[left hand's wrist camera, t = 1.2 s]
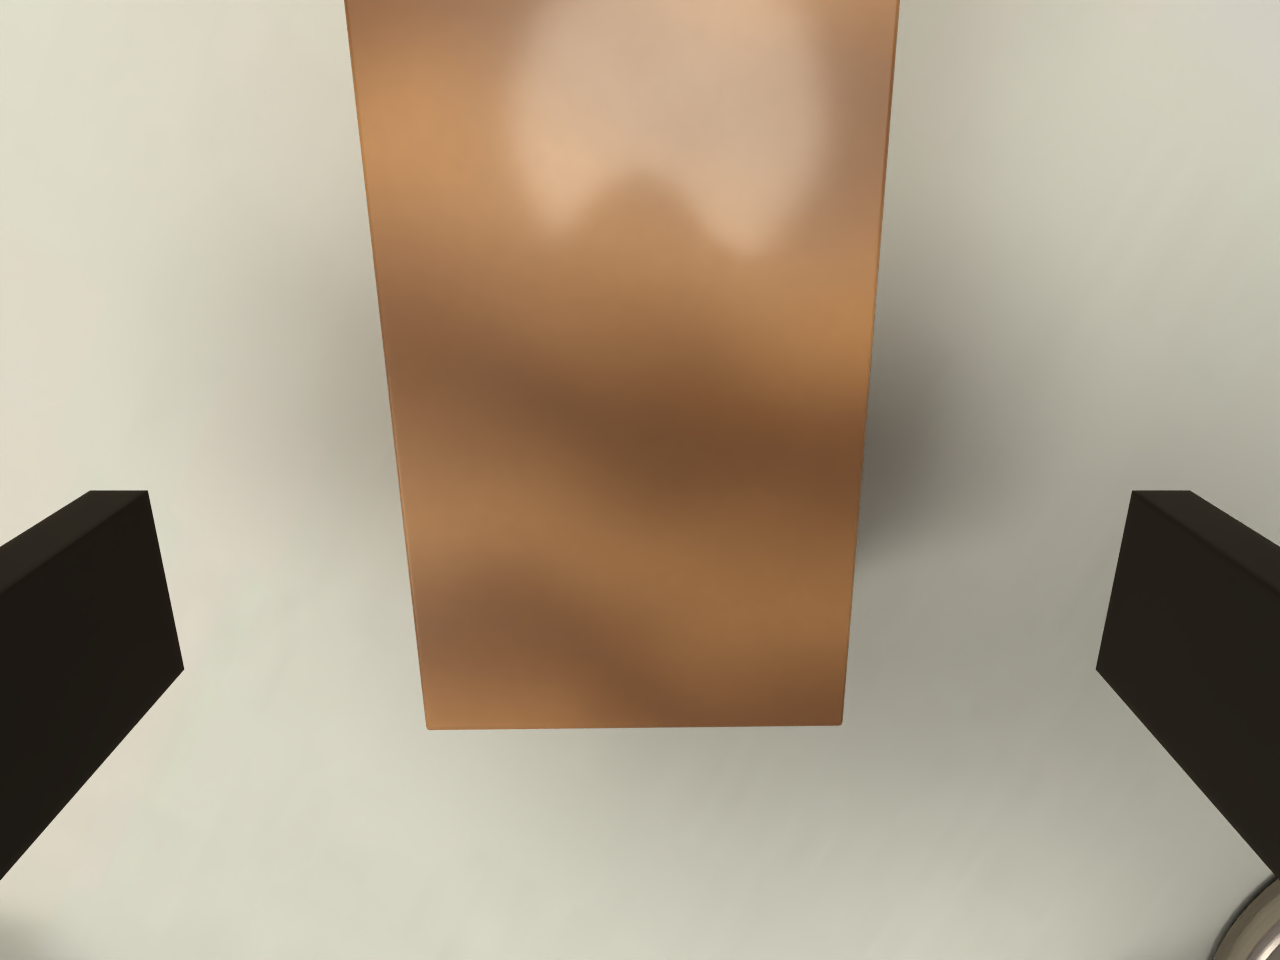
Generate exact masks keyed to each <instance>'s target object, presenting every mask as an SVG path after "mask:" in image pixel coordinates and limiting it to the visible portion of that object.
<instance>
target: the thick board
mask: <svg viewBox="0 0 1280 960" xmlns="http://www.w3.org/2000/svg"><path fill="white" fill-rule="evenodd" d="M344 3H345V12H346V21H347V30H348V39H349V48H350V57H351V65H352V74H353V83H354V92H355V101H356V110H357V118H358V127H359V136H360V145H361V154H362V163H363V171H364V180H365V189H366V198H367V207H368V216H369V224H370V233H371V242H372V251H373V260H374V269H375V278H376V286H377V295H378V304H379V313H380V322H381V331H382V339H383V348H384V357H385V366H386V375H387V384H388V392H389V401H390V410H391V419H392V428H393V437H394V445H395V454H396V463H397V472H398V481H399V490H400V499H401V507H402V516H403V525H404V534H405V543H406V552H407V560H408V569H409V578H410V587H411V596H412V605H413V613H414V622H415V631H416V640H417V649H418V658H419V666H420V675H421V684H422V693H423V702H424V711H425V720H426V727H427V729H428V730H466V729H560V728H655V727H749V726H839V725H841V724H842V721H843V708H844V695H845V683H846V670H847V658H848V645H849V633H850V620H851V607H852V595H853V582H854V570H855V557H856V545H857V532H858V519H859V507H860V494H861V482H862V469H863V457H864V444H865V431H866V419H867V406H868V394H869V381H870V369H871V356H872V343H873V331H874V318H875V306H876V293H877V281H878V268H879V255H880V243H881V230H882V218H883V205H884V193H885V180H886V167H887V155H888V142H889V130H890V117H891V105H892V92H893V79H894V67H895V54H896V42H897V29H898V17H899V4H900V0H344Z"/></svg>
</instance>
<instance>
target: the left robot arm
mask: <svg viewBox="0 0 1280 960" xmlns="http://www.w3.org/2000/svg"><path fill="white" fill-rule="evenodd" d="M183 670H184V666H183V661H182V656H181V651H180V646H179V641H178V636H177V631H176V627H175V622H174V617H173V612H172V607H171V602H170V597H169V592H168V587H167V582H166V578H165V573H164V568H163V563H162V558H161V553H160V548H159V543H158V538H157V534H156V529H155V524H154V519H153V514H152V509H151V504H150V499H149V494H148V491H89V492H87V493H86V494H84V495H82V496H81V497H79V498H78V499H76V500H74V501H73V502H71V503H70V504H68V505H66V506H65V507H63V508H62V509H60V510H58V511H57V512H55V513H54V514H52V515H50V516H49V517H47V518H46V519H44V520H42V521H41V522H39V523H38V524H36V525H34V526H33V527H31V528H30V529H28V530H26V531H25V532H23V533H22V534H20V535H18V536H17V537H15V538H14V539H12V540H10V541H9V542H7V543H6V544H4V545H2V546H1V547H0V880H1V879H2V878H3V877H4V875H5V874H6V873H7V872H8V871H9V870H10V869H11V867H12V866H13V865H14V864H15V863H16V862H17V861H18V859H19V858H20V857H21V856H22V855H23V854H24V853H25V851H26V850H27V849H28V848H29V847H30V846H31V844H32V843H33V842H34V841H35V840H36V839H37V838H38V836H39V835H40V834H41V833H42V832H43V831H44V830H45V828H46V827H47V826H48V825H49V824H50V823H51V822H52V820H53V819H54V818H55V817H56V816H57V815H58V814H59V812H60V811H61V810H62V809H63V808H64V807H65V805H66V804H67V803H68V802H69V801H70V800H71V799H72V797H73V796H74V795H75V794H76V793H77V792H78V791H79V789H80V788H81V787H82V786H83V785H84V784H85V783H86V781H87V780H88V779H89V778H90V777H91V776H92V775H93V773H94V772H95V771H96V770H97V769H98V768H99V766H100V765H101V764H102V763H103V762H104V761H105V760H106V758H107V757H108V756H109V755H110V754H111V753H112V752H113V750H114V749H115V748H116V747H117V746H118V745H119V744H120V742H121V741H122V740H123V739H124V738H125V737H126V736H127V734H128V733H129V732H130V731H131V730H132V729H133V727H134V726H135V725H136V724H137V723H138V722H139V721H140V719H141V718H142V717H143V716H144V715H145V714H146V713H147V711H148V710H149V709H150V708H151V707H152V706H153V705H154V703H155V702H156V701H157V700H158V699H159V698H160V697H161V695H162V694H163V693H164V692H165V691H166V690H167V688H168V687H169V686H170V685H171V684H172V683H173V682H174V680H175V679H176V678H177V677H178V676H179V675H180V674H181V672H182V671H183ZM1096 670H1097V671H1098V672H1099V674H1100V675H1101V676H1102V677H1103V678H1104V679H1105V680H1106V682H1107V683H1108V684H1109V685H1110V686H1111V687H1112V688H1113V690H1114V691H1115V692H1116V693H1117V694H1118V695H1119V697H1120V698H1121V699H1122V700H1123V701H1124V702H1125V703H1126V705H1127V706H1128V707H1129V708H1130V709H1131V710H1132V711H1133V713H1134V714H1135V715H1136V716H1137V717H1138V718H1139V719H1140V721H1141V722H1142V723H1143V724H1144V725H1145V726H1146V727H1147V729H1148V730H1149V731H1150V732H1151V733H1152V734H1153V736H1154V737H1155V738H1156V739H1157V740H1158V741H1159V742H1160V744H1161V745H1162V746H1163V747H1164V748H1165V749H1166V750H1167V752H1168V753H1169V754H1170V755H1171V756H1172V757H1173V758H1174V760H1175V761H1176V762H1177V763H1178V764H1179V765H1180V766H1181V768H1182V769H1183V770H1184V771H1185V772H1186V773H1187V775H1188V776H1189V777H1190V778H1191V779H1192V780H1193V781H1194V783H1195V784H1196V785H1197V786H1198V787H1199V788H1200V789H1201V791H1202V792H1203V793H1204V794H1205V795H1206V796H1207V797H1208V799H1209V800H1210V801H1211V802H1212V803H1213V804H1214V805H1215V807H1216V808H1217V809H1218V810H1219V811H1220V812H1221V814H1222V815H1223V816H1224V817H1225V818H1226V819H1227V820H1228V822H1229V823H1230V824H1231V825H1232V826H1233V827H1234V828H1235V830H1236V831H1237V832H1238V833H1239V834H1240V835H1241V836H1242V838H1243V839H1244V840H1245V841H1246V842H1247V843H1248V844H1249V846H1250V847H1251V848H1252V849H1253V850H1254V851H1255V853H1256V854H1257V855H1258V856H1259V857H1260V858H1261V859H1262V861H1263V862H1264V863H1265V864H1266V865H1267V866H1268V867H1269V869H1270V870H1271V871H1272V872H1273V873H1274V874H1275V875H1276V877H1277V878H1278V879H1277V880H1276V881H1275V882H1273V883H1272V884H1271V885H1270V886H1268V887H1267V888H1266V889H1265V890H1264V891H1263V892H1262V893H1261V894H1260V895H1259V896H1258V897H1257V898H1256V899H1254V900H1253V901H1252V902H1251V903H1250V905H1249V906H1248V907H1247V908H1246V909H1245V910H1244V911H1243V913H1242V914H1241V915H1240V916H1239V917H1238V918H1237V920H1236V921H1235V922H1234V924H1233V925H1232V927H1231V928H1230V929H1229V931H1228V932H1227V934H1226V935H1225V937H1224V939H1223V940H1222V942H1221V944H1220V946H1219V947H1218V950H1217V952H1216V954H1215V956H1214V958H1213V960H1280V547H1279V546H1278V545H1276V544H1274V543H1273V542H1271V541H1270V540H1268V539H1266V538H1265V537H1263V536H1262V535H1260V534H1258V533H1257V532H1255V531H1254V530H1252V529H1250V528H1249V527H1247V526H1246V525H1244V524H1242V523H1241V522H1239V521H1238V520H1236V519H1234V518H1233V517H1231V516H1230V515H1228V514H1226V513H1225V512H1223V511H1222V510H1220V509H1218V508H1217V507H1215V506H1214V505H1212V504H1210V503H1209V502H1207V501H1206V500H1204V499H1202V498H1201V497H1199V496H1198V495H1196V494H1194V493H1193V492H1191V491H1132V494H1131V499H1130V504H1129V509H1128V514H1127V519H1126V524H1125V529H1124V533H1123V538H1122V543H1121V548H1120V553H1119V558H1118V563H1117V568H1116V573H1115V578H1114V582H1113V587H1112V592H1111V597H1110V602H1109V607H1108V612H1107V617H1106V622H1105V627H1104V631H1103V636H1102V641H1101V646H1100V651H1099V656H1098V661H1097V666H1096Z"/></svg>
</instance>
